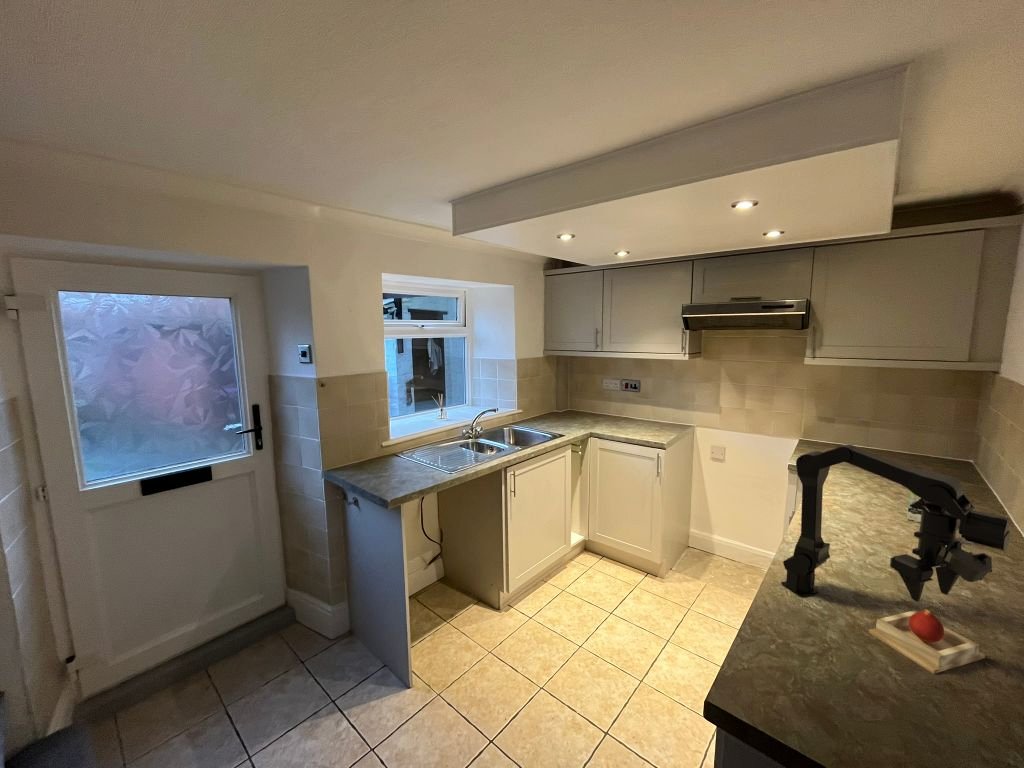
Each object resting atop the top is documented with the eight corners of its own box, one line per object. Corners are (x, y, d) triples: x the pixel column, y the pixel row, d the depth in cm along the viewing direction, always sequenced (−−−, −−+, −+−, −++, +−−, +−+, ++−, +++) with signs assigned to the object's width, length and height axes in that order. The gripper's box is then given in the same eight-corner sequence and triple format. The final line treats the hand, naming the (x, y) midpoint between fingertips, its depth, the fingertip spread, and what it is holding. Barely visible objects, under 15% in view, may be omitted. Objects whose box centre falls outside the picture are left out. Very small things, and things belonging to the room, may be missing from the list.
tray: (933, 673, 91) (935, 659, 91) (868, 632, 104) (870, 620, 103) (984, 658, 95) (986, 644, 95) (916, 620, 108) (917, 608, 107)
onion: (923, 631, 102) (928, 601, 101) (949, 650, 97) (954, 618, 95) (900, 633, 102) (904, 602, 101) (924, 651, 96) (929, 619, 95)
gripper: (953, 555, 86) (944, 627, 88) (1014, 543, 91) (1005, 611, 93) (891, 531, 97) (885, 596, 98) (949, 521, 101) (942, 582, 103)
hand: (929, 597), depth 98 cm, fingers open, 9 cm apart
